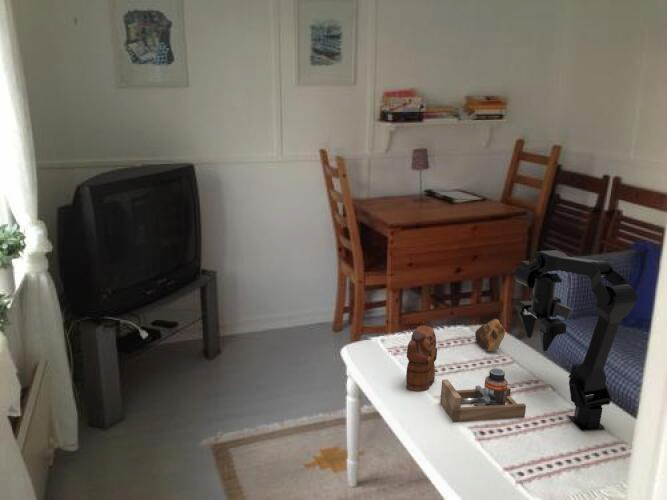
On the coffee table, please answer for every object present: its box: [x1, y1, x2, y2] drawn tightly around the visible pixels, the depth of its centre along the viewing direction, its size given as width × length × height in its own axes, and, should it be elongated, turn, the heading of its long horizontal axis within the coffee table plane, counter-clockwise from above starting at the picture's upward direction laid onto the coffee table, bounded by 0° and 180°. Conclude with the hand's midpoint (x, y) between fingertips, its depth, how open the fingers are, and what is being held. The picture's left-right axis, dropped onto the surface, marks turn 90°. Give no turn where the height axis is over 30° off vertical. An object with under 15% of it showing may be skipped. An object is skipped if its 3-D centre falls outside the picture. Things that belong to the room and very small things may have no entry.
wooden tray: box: [439, 379, 527, 423], centre depth 161 cm, size 10×20×7 cm, turn 100°
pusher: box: [462, 385, 490, 406], centre depth 160 cm, size 7×6×5 cm
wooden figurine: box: [405, 325, 438, 392], centre depth 172 cm, size 12×6×18 cm, turn 149°
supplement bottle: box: [483, 368, 509, 406], centre depth 161 cm, size 6×6×11 cm
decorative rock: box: [474, 318, 506, 352], centre depth 200 cm, size 12×6×11 cm, turn 14°
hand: (536, 344), depth 173 cm, fingers open, 9 cm apart
